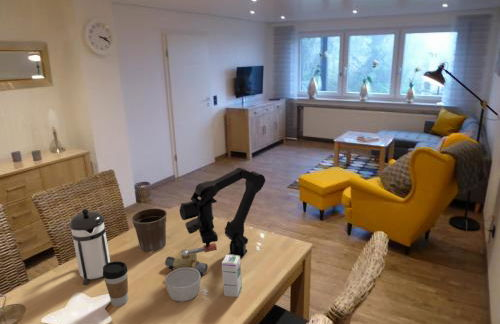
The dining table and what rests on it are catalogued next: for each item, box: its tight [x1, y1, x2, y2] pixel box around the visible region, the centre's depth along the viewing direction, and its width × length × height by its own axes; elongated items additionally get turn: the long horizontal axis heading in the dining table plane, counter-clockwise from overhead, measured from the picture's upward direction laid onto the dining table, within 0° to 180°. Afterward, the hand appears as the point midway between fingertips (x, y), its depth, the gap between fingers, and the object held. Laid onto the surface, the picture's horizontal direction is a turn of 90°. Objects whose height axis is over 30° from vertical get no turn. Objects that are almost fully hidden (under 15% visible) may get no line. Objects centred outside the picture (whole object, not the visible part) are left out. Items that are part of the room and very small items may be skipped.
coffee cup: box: [102, 260, 129, 307], centre depth 128 cm, size 8×8×15 cm
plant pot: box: [130, 207, 168, 253], centre depth 166 cm, size 16×16×16 cm
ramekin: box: [164, 268, 202, 302], centre depth 133 cm, size 13×13×7 cm
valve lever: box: [180, 242, 218, 257], centre depth 148 cm, size 15×3×2 cm, turn 111°
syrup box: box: [221, 254, 243, 298], centre depth 132 cm, size 6×6×14 cm
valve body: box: [164, 251, 209, 277], centre depth 147 cm, size 18×6×7 cm, turn 70°
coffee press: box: [68, 208, 111, 286], centre depth 143 cm, size 17×16×30 cm
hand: (207, 245), depth 151 cm, fingers closed
